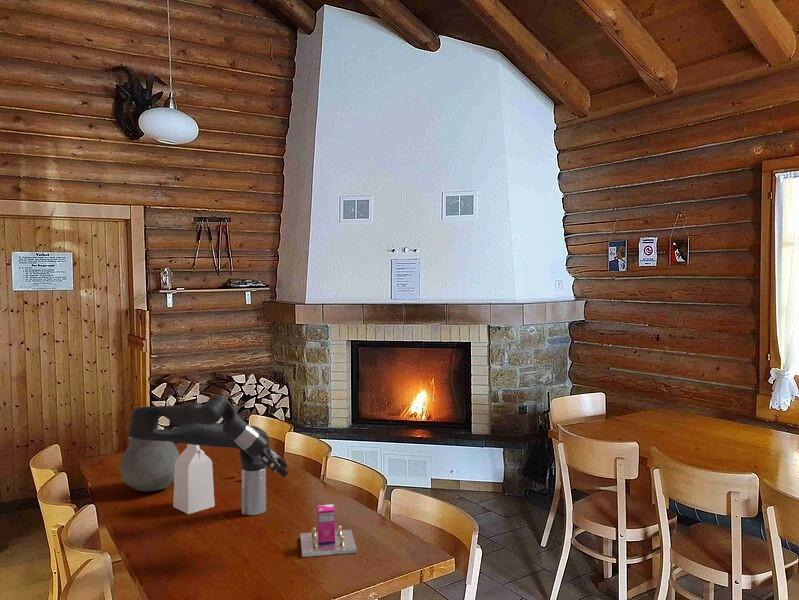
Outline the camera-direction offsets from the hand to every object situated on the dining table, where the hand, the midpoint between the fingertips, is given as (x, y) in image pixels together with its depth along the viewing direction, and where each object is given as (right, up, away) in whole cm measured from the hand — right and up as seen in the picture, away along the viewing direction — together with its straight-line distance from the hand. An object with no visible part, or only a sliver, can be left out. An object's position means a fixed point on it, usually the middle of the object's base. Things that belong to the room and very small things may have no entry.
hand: (285, 471), depth 215 cm
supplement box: (+14, -24, -1) cm, 28 cm away
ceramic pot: (-69, -23, +56) cm, 92 cm away
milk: (-44, -24, +36) cm, 61 cm away
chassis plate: (+15, -25, -1) cm, 29 cm away
